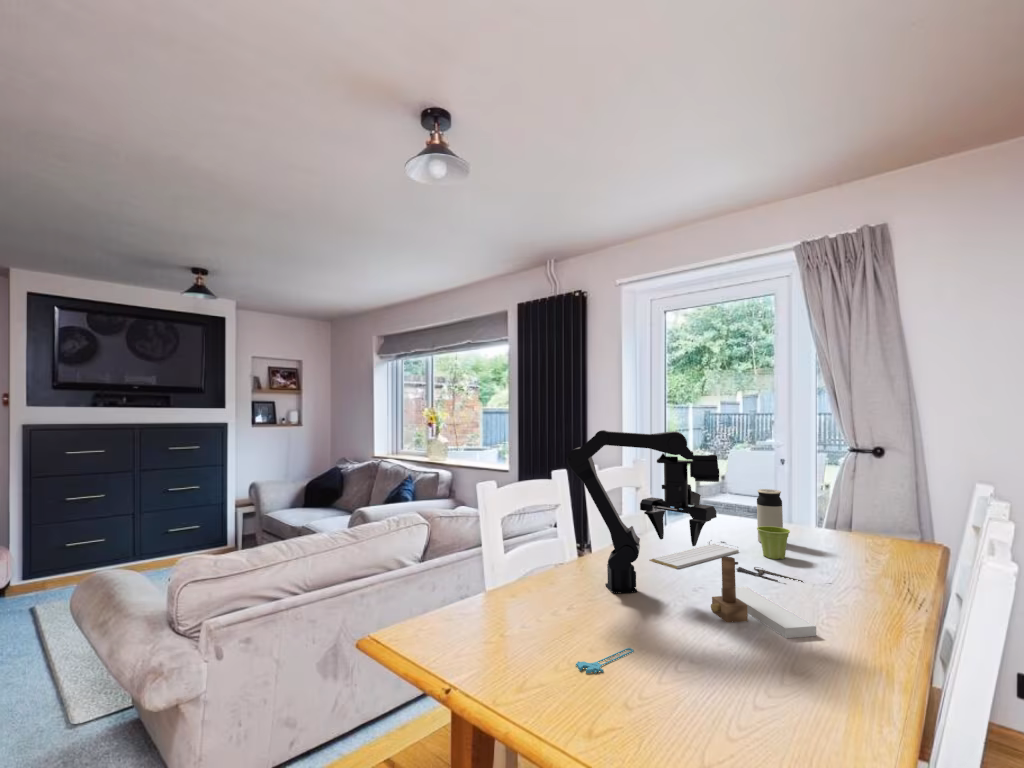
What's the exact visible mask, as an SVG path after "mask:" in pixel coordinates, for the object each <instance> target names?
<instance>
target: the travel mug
mask: <svg viewBox="0 0 1024 768" xmlns="http://www.w3.org/2000/svg"><path fill="white" fill-rule="evenodd" d="M756 491H757V493H758V494H757V495H758V496H757V498H756V516H757V518H756V521H757V527H761V526H773V527H780V528H784V522H783V520H784V519H783V517H784V516H783V500H782V498H781V497H780V496H781V493H782V491H780V490H777V489H772V488H771V489H770V488H769V489H768V488H762V489H761V488H760V489H757V490H756ZM757 542H759V543H761V539H760V534H759V531H758V530H757Z"/></svg>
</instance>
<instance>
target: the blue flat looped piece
mask: <svg viewBox="0 0 1024 768" xmlns="http://www.w3.org/2000/svg"><path fill="white" fill-rule="evenodd" d="M625 650H627V651H628V652H626V651H625ZM623 651H625V654H624V652H623ZM621 652H623V654H622V653H621ZM632 652H633V653H634V652H635V651H634V649H633V648H631V647H627V648H623V649H622V650H620V651H617V652H615V653H612V654H610V655H609V656H606V657H604V658H602V659H600V660H597V661H594V662H587V661H577V662H576V663H575V666H576V665H577V666H578V667H577V666H576V667H577V670H578V669H579V670H580V671H581V670H582V669H583V668H587V669H585V674H587V673H590V674H592V673H591V672H594V673H593V674H595V673H596V672H599V671H601V672H602V673H603V672H604V669H603V668H602V667H601V666H602V665H604V664H607V663H609V662H611V661H613V660H615V661H617V660H616V659H618V658H620V659H621V657H622V658H624V657H626V656H628V655H630V654H629V653H631V654H633V653H632ZM618 653H620V654H622V655H621V656H620V655H619V654H618ZM616 654H618V655H619V657H617V656H616V657H617V658H615V656H614V655H616ZM627 654H628V655H627ZM625 655H626V656H625ZM611 656H614V658H615V659H612V660H610V661H608V662H604V661H603V660H605V659H607V658H609V657H611ZM623 656H624V657H623ZM609 659H610V658H609ZM607 660H608V659H607ZM618 660H619V659H618ZM600 661H603V662H604V663H598V662H600ZM613 662H614V661H613ZM611 663H612V662H611ZM609 664H610V663H609ZM607 665H608V664H607ZM600 667H601V668H600ZM579 670H578V671H579ZM583 670H584V669H583ZM583 670H582V671H583ZM580 671H579V672H580ZM582 671H581V672H582ZM601 672H599V673H601ZM596 674H597V673H596Z"/></svg>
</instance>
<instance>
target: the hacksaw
mask: <svg viewBox="0 0 1024 768" xmlns="http://www.w3.org/2000/svg"><path fill="white" fill-rule="evenodd" d="M753 569H754V570H755V571H757V572H755V571H753V570H752V571H751V570H750V569H746V568H743V567H741V566H739V567H737V568H736V567H735V570H737V571H736V572H738V573H743V574H745V575H746V574H747V575H751V576H755V577H758V578H759V577H760V578H764V579H766V580H771V581H774V582H778V579H775V578H771V577H768V576H764V575H765V574H768V575H770V574H771V575H772V576H774V575H775V576H774V577H778V576H780V577H779V578H782V577H784V578H783V579H786V578H789V579H788V580H791V579H793V580H792V581H795V580H798V581H797V582H799V581H801V582H800V583H804V582H803V581H804V580H801V579H797V578H795V577H791V576H790V577H789V576H787V575H782V574H780V573H775V572H771V571H769V570H766V569H764V568H760V567H758V566H754V567H753ZM778 583H779V582H778Z"/></svg>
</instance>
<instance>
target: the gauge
mask: <svg viewBox="0 0 1024 768" xmlns="http://www.w3.org/2000/svg"><path fill="white" fill-rule="evenodd" d="M737 565H739V562H738V561H736V560H735V558H734V557H733V556H732V557H731V556H723V557H721V586H722V587H721V588H722V594H721V595H718V596H712V597H711V604H710V609H711V613H713V614H714V615H715V616H717V617H719V618H720V619H721V620H722V621H724V622H725V623H727V624H728V623H741V622H748V620H749V618H748V615H749V614H748V613H747V605H746V604H745V603H743V602H742V601H740V600H738V599H737V598H736V587H737V586H736V566H737Z"/></svg>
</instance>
